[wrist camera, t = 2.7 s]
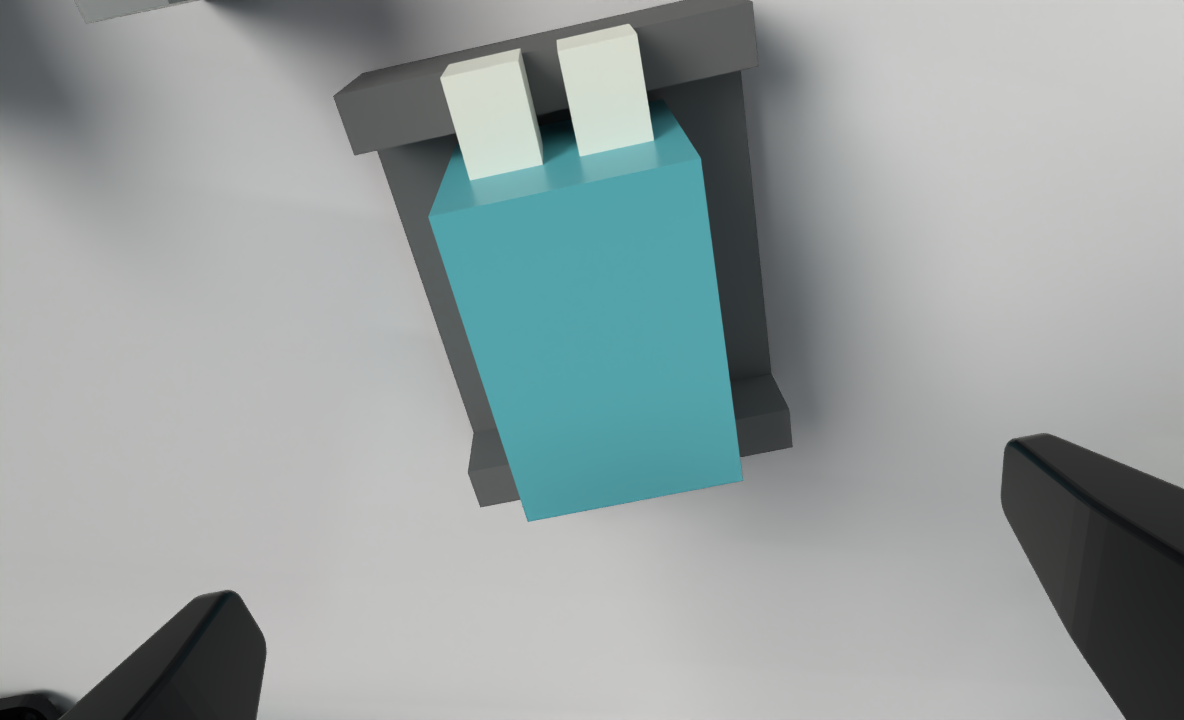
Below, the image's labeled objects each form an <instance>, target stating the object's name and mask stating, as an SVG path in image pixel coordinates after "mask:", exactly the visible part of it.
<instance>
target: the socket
mask: <svg viewBox="0 0 1184 720" xmlns="http://www.w3.org/2000/svg"><path fill="white" fill-rule="evenodd" d="M74 1H75V3H76V5H77V7H78V9H79V11H80V13H81V15H82V17H83V19H84V21H85V23H86V24H87V23H92V22H97V21H102V20H107V19H112V18H116V17H121V16H126V15H131V14H136V13H141V12H145V11H150V10H155V9H160V8H165V7H170V6H174V5H179V4H184V3H189V2H194V1H199V0H74Z"/></svg>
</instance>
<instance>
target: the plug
mask: <svg viewBox="0 0 1184 720" xmlns="http://www.w3.org/2000/svg"><path fill="white" fill-rule="evenodd" d="M556 41H557V51H558V56H559V61H560V66H561V70H562V75H563V80H564V85H565V89H566V94H567V99H568V103H569V108H570V113H571V118H572V119H571V120H566V121H562V122H557V123H553V124H548V125H544V126H538V121H537V117H536V113H535V108H534V104H533V100H532V96H531V91H530V87H529V83H528V79H527V74H526V70H525V66H524V62H523V57H522V53H521V49H520V48H519V49H515V50H510V51H506V52H501V53H497V54H492V55H488V56H484V57H479V58H475V59H470V60H466V61H461V62H457V63H453V64H449V65H448V66H447V68H446V70H445V71H444V73H443V74H442V76H441V77H440V79H441V83H442V86H443V90H444V93H445V97H446V100H447V103H448V107H449V110H450V114H451V117H452V121H453V124H454V128H455V131H456V134H457V138H458V141H459V144H457V145H456V146H455V148H454V151H453V154H452V156H451V159H450V161H449V164H448V167H447V169H446V172H445V174H444V177H443V180H442V182H441V185H440V188H439V190H438V193H437V195H436V198H435V201H434V203H433V206H432V208H431V211H430V214H429V216H428V218H429V221H430V224H431V227H432V230H433V233H434V236H435V239H436V242H437V245H438V248H439V251H440V254H441V257H442V260H443V264H444V267H445V270H446V273H447V276H448V279H449V282H450V285H451V288H452V291H453V294H454V297H455V300H456V303H457V306H458V309H459V313H460V316H461V319H462V322H463V325H464V328H465V331H466V334H467V337H468V340H469V343H470V346H471V349H472V352H473V355H474V358H475V362H476V365H477V368H478V371H479V374H480V377H481V380H482V383H483V386H484V389H485V392H486V395H487V398H488V401H489V404H490V407H491V410H492V414H493V417H494V420H495V423H496V426H497V429H498V432H499V435H500V438H501V441H502V444H503V447H504V450H505V453H506V456H507V459H508V463H509V466H510V469H511V472H512V475H513V478H514V481H515V484H516V487H517V490H518V493H519V496H520V499H521V502H522V505H523V508H524V511H525V515H526V518H527V521H528V522H529V521H535V520H540V519H545V518H550V517H556V516H561V515H566V514H571V513H576V512H582V511H587V510H592V509H597V508H603V507H608V506H613V505H618V504H624V503H629V502H634V501H639V500H644V499H650V498H655V497H660V496H665V495H671V494H676V493H681V492H686V491H691V490H697V489H702V488H707V487H712V486H718V485H723V484H728V483H733V482H738V481H743V477H742V470H741V462H740V454H739V447H738V439H737V431H736V424H735V416H734V408H733V401H732V393H731V386H730V378H729V370H728V363H727V355H726V347H725V340H724V332H723V324H722V317H721V309H720V301H719V294H718V286H717V278H716V271H715V263H714V255H713V248H712V240H711V233H710V225H709V217H708V210H707V202H706V194H705V187H704V179H703V171H702V164H701V158H700V156H699V155H698V153H697V151H696V150H695V148H694V147H693V145H692V144H691V142H690V140H689V139H688V137H687V136H686V134H685V133H684V131H683V129H682V128H681V126H680V125H679V123H678V122H677V120H676V118H675V117H674V115H673V114H672V112H671V111H670V109H669V107H668V106H667V104H666V103H665V101H664V100H663V99H662V100H657V101H653V102H648V100H647V94H646V87H645V81H644V75H643V69H642V62H641V56H640V50H639V44H638V37H637V33H636V32H635V31H634V29H633V28H632V27H631V25H630V24H625V25H621V26H616V27H612V28H607V29H603V30H598V31H594V32H590V33H585V34H581V35H576V36H572V37H568V38H563V39H559V40H556Z"/></svg>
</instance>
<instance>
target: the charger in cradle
mask: <svg viewBox="0 0 1184 720" xmlns="http://www.w3.org/2000/svg"><path fill="white" fill-rule="evenodd" d="M625 24H630V25H631V27H632V28H633V29H634V31H635V32H636V33H637V37H638V44H639V50H640V56H641V62H642V69H643V75H644V81H645V87H646V94H647V100H648V102H653V101H657V100H662V99H663V100H664V101H665V103H666V104H667V106H668V107H669V109H670V111H671V112H672V114H673V115H674V117H675V118H676V120H677V122H678V123H679V125H680V126H681V128H682V129H683V131H684V133H685V134H686V136H687V137H688V139H689V140H690V142H691V144H692V145H693V147H694V148H695V150H696V151H697V153H698V155H699V156H700V158H701V164H702V171H703V179H704V187H705V194H706V202H707V210H708V217H709V225H710V233H711V240H712V248H713V255H714V263H715V271H716V278H717V286H718V294H719V301H720V309H721V317H722V324H723V332H724V340H725V347H726V355H727V363H728V370H729V378H730V386H731V393H732V401H733V408H734V416H735V424H736V431H737V439H738V447H739V454H740V457H744V456H749V455H754V454H759V453H765V452H770V451H775V450H780V449H785V448H790V447H793V446H792V435H791V424H790V413H789V408H788V406H787V404H786V402H785V400H784V398H783V396H782V394H781V392H780V390H779V388H778V386H777V384H776V382H775V380H774V378H773V376H772V374H771V367H770V357H769V347H768V337H767V327H766V317H765V307H764V298H763V288H762V278H761V268H760V258H759V248H758V238H757V228H756V219H755V209H754V199H753V189H752V179H751V169H750V159H749V149H748V140H747V130H746V120H745V110H744V100H743V90H742V80H741V70H743V69H748V68H752V67H757V66H758V58H757V47H756V36H755V24H754V13H753V2H752V1H750V0H683V1H679V2H674V3H670V4H666V5H661V6H657V7H652V8H648V9H644V10H639V11H635V12H630V13H626V14H622V15H617V16H613V17H608V18H604V19H600V20H595V21H591V22H586V23H582V24H578V25H573V26H569V27H564V28H560V29H556V30H551V31H547V32H542V33H538V34H534V35H529V36H525V37H520V38H516V39H511V40H507V41H503V42H498V43H494V44H489V45H485V46H481V47H476V48H472V49H467V50H463V51H459V52H454V53H450V54H445V55H441V56H437V57H432V58H428V59H423V60H419V61H415V62H410V63H406V64H401V65H397V66H393V67H388V68H384V69H379V70H375V71H371V72H366V73H362V74H361V75H360V76H358V77H357V78H356V79H355V80H353V81H352V82H351V83H350V84H348V85H347V86H346V87H344V88H343V89H342V90H341V91H339V92H338V93H337V94H335V95H334V96H333V97H334V100H335V102H336V105H337V108H338V111H339V114H340V116H341V119H342V122H343V125H344V128H345V130H346V133H347V136H348V139H349V142H350V144H351V147H352V150H353V153H354V155H359V154H363V153H368V152H372V151H378V154H379V157H380V160H381V163H382V166H383V169H384V172H385V175H386V178H387V181H388V184H389V186H390V189H391V192H392V195H393V198H394V201H395V204H396V207H397V210H398V213H399V216H400V219H401V222H402V225H403V227H404V230H405V233H406V236H407V239H408V242H409V245H410V248H411V251H412V254H413V257H414V260H415V263H416V265H417V268H418V271H419V274H420V277H421V280H422V283H423V286H424V289H425V292H426V295H427V298H428V301H429V303H430V306H431V309H432V312H433V315H434V318H435V321H436V324H437V327H438V330H439V333H440V336H441V339H442V341H443V344H444V347H445V350H446V353H447V356H448V359H449V362H450V365H451V368H452V371H453V374H454V377H455V379H456V382H457V385H458V388H459V391H460V394H461V397H462V400H463V403H464V406H465V409H466V412H467V415H468V418H469V420H470V423H471V426H472V429H473V432H474V434H473V441H472V448H471V455H470V462H469V468H468V474H469V477H470V480H471V483H472V485H473V488H474V491H475V494H476V496H477V499H478V502H479V505H480V507H485V506H490V505H495V504H500V503H506V502H511V501H516V500H521V499H520V496H519V493H518V490H517V487H516V484H515V481H514V478H513V475H512V472H511V469H510V466H509V463H508V459H507V456H506V453H505V450H504V447H503V444H502V441H501V438H500V435H499V432H498V429H497V426H496V423H495V420H494V417H493V414H492V410H491V407H490V404H489V401H488V398H487V395H486V392H485V389H484V386H483V383H482V380H481V377H480V374H479V371H478V368H477V365H476V362H475V358H474V355H473V352H472V349H471V346H470V343H469V340H468V337H467V334H466V331H465V328H464V325H463V322H462V319H461V316H460V313H459V309H458V306H457V303H456V300H455V297H454V294H453V291H452V288H451V285H450V282H449V279H448V276H447V273H446V270H445V267H444V264H443V260H442V257H441V254H440V251H439V248H438V245H437V242H436V239H435V236H434V233H433V230H432V227H431V224H430V221H429V218H428V216H429V214H430V211H431V208H432V206H433V203H434V201H435V198H436V195H437V193H438V190H439V188H440V185H441V182H442V180H443V177H444V174H445V172H446V169H447V167H448V164H449V161H450V159H451V156H452V154H453V151H454V148H455V146H456V145H457V144H459V141H458V138H457V134H456V131H455V128H454V124H453V121H452V117H451V114H450V110H449V107H448V103H447V100H446V97H445V93H444V90H443V86H442V83H441V79H440V77H441V76H442V74H443V73H444V71H445V70H446V68H447V66H448V65H449V64H453V63H457V62H461V61H466V60H470V59H475V58H479V57H484V56H488V55H492V54H497V53H501V52H506V51H510V50H515V49H519V48H520V49H521V53H522V57H523V62H524V66H525V70H526V74H527V79H528V83H529V87H530V91H531V96H532V100H533V104H534V108H535V113H536V117H537V121H538V126H544V125H548V124H553V123H557V122H562V121H566V120H571V119H572V118H571V113H570V108H569V103H568V99H567V94H566V89H565V85H564V80H563V75H562V70H561V66H560V61H559V56H558V51H557V41H556V40H559V39H563V38H568V37H572V36H576V35H581V34H585V33H590V32H594V31H598V30H603V29H607V28H612V27H616V26H621V25H625Z"/></svg>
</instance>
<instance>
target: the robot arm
mask: <svg viewBox="0 0 1184 720" xmlns="http://www.w3.org/2000/svg"><path fill="white" fill-rule="evenodd" d="M1001 503H1002V507H1003V511H1004V513H1005V516H1006V518H1007V520H1008V522H1009V524H1010V526H1011V527H1012V529H1013V531H1014V533H1015V535H1016V537H1017V539H1018V541H1019V542H1020V544H1021V546H1022V548H1023V550H1024V552H1025V554H1026V556H1027V557H1028V559H1029V561H1030V563H1031V565H1032V567H1033V569H1034V571H1035V572H1036V574H1037V576H1038V578H1039V580H1040V582H1041V584H1042V586H1043V587H1044V589H1045V591H1046V593H1047V595H1048V597H1049V599H1050V601H1051V602H1052V604H1053V606H1054V608H1055V610H1056V612H1057V614H1058V616H1059V617H1060V619H1061V621H1062V623H1063V624H1064V626H1065V628H1066V630H1067V631H1068V633H1069V635H1070V637H1071V638H1072V640H1073V641H1074V643H1075V644H1076V646H1077V648H1078V649H1079V651H1080V652H1081V654H1082V655H1083V657H1084V658H1085V660H1086V661H1087V663H1088V664H1089V666H1090V667H1091V669H1092V670H1093V672H1094V673H1095V674H1096V676H1097V677H1098V679H1099V680H1100V682H1101V683H1102V685H1103V686H1104V688H1105V689H1106V691H1107V692H1108V694H1109V695H1110V697H1111V698H1112V699H1113V701H1114V702H1115V704H1116V705H1117V707H1118V708H1119V710H1120V711H1121V713H1122V714H1123V716H1124V717H1125V719H1126V720H1184V489H1183V488H1181V487H1178V486H1176V485H1173V484H1171V483H1168V482H1166V481H1164V480H1161V479H1159V478H1156V477H1154V476H1151V475H1149V474H1147V473H1144V472H1142V471H1139V470H1137V469H1134V468H1132V467H1129V466H1127V465H1125V464H1122V463H1120V462H1117V461H1115V460H1112V459H1110V458H1108V457H1105V456H1103V455H1100V454H1098V453H1095V452H1093V451H1090V450H1088V449H1086V448H1083V447H1081V446H1078V445H1076V444H1073V443H1071V442H1069V441H1066V440H1064V439H1061V438H1059V437H1056V436H1054V435H1051V434H1046V433H1041V434H1035V435H1030V436H1024V437H1019V438H1014V439H1012V440H1010V441H1009V442H1008V443H1007V445H1006V447H1005V451H1004V460H1003V473H1002V485H1001ZM265 662H266V642H265V638H264V636H263V633H262V632H261V630H260V628H259V627H258V625H257V623H256V622H255V620H254V618H253V617H252V615H251V613H250V612H249V610H248V608H247V607H246V605H245V603H244V602H243V600H242V598H241V597H240V596H239V594H237V593H236V592H234V591H232V590H224V591H219V592H213V593H208V594H203V595H200V596H198V597H196V598H194V599H193V600H192V601H191V602H189V603H188V604H187V605H186V606H185V607H184V608H183V609H182V610H180V611H179V612H178V613H177V614H176V615H175V616H174V617H173V618H171V619H170V620H169V621H168V622H167V623H166V624H165V625H164V626H163V627H161V628H160V629H159V630H158V631H157V632H156V633H155V634H154V635H152V636H151V637H150V638H149V639H148V640H147V641H146V642H145V643H143V644H142V645H141V646H140V647H139V648H138V649H137V650H136V651H134V652H133V653H132V654H131V655H130V656H129V657H128V658H127V659H126V660H124V661H123V662H122V663H121V664H120V665H119V666H118V667H117V668H115V669H114V670H113V671H112V672H111V673H110V674H109V675H108V676H106V677H105V678H104V679H103V680H102V681H101V682H100V683H99V684H97V685H96V686H95V687H94V688H93V689H92V690H91V691H90V692H89V693H87V694H86V695H85V696H84V697H83V698H82V699H81V700H80V701H78V702H77V703H76V704H75V705H74V706H73V707H72V708H71V709H69V710H68V711H67V712H66V713H65V714H64V715H63V716H62V714H61V713H60V712H59V711H58V710H57V709H56V708H55V706H54V705H53V704H52V703H51V702H50V701H49V700H48V699H46V698H44V697H42V696H39V695H34V694H28V695H21V696H16V697H10V698H5V699H0V720H256V718H257V712H258V705H259V699H260V693H261V687H262V680H263V674H264V668H265Z"/></svg>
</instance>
